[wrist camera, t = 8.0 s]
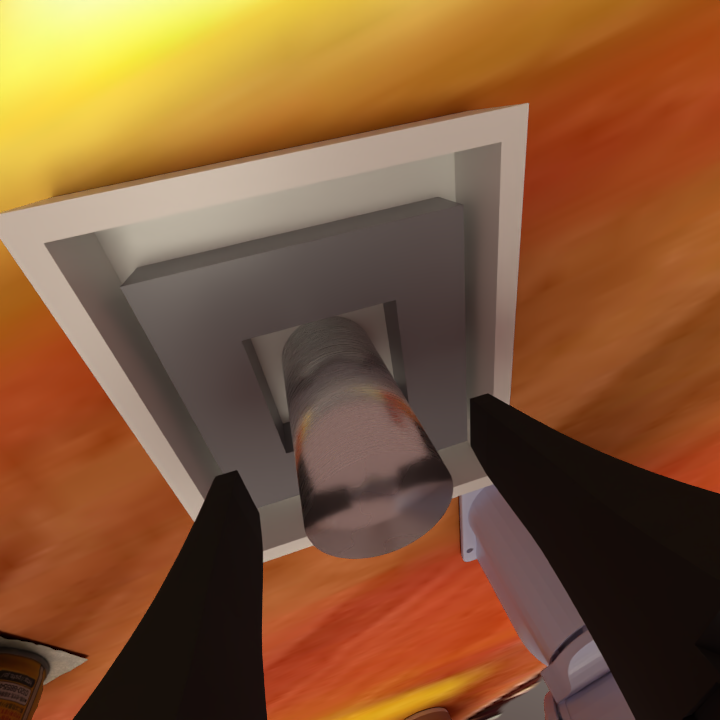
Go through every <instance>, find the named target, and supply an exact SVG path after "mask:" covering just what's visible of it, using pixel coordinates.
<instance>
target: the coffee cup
mask: <svg viewBox="0 0 720 720" xmlns="http://www.w3.org/2000/svg"><path fill="white" fill-rule="evenodd" d="M405 720H452V719H451V718H450V715H449V713H448V711H447V710H446V709H445V708H442V707H436V708H430V709H426V710H423V711H421V712H418V713H416V714H414V715H412V716H410V717H408V718H406V719H405Z"/></svg>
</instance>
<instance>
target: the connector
mask: <svg viewBox="0 0 720 720" xmlns="http://www.w3.org/2000/svg"><path fill="white" fill-rule="evenodd" d="M282 369H283V376H284V383H285V391H286V398H287V405H288V413H289V420H290V427H291V435H292V442H293V449H294V456H295V464H296V471H297V478H298V486H299V493H300V500H301V507H302V515H303V522H304V528H305V533H306V535H307V537H308V539H309V540H310V542H311V543H312V544H313V545H314V546H315V547H316V548H317V549H319V550H321V551H322V552H324V553H326V554H329V555H332V556H335V557H340V558H349V559H360V558H370V557H375V556H380V555H383V554H387V553H390V552H393V551H395V550H398V549H400V548H402V547H405V546H407V545H408V544H410V543H412V542H414V541H415V540H417V539H418V538H420V537H421V536H423V535H424V534H425V533H427V532H428V531H429V530H430V529H431V528H432V527H433V526H434V525H435V524H436V523H437V522H438V521H439V520H440V519H441V517H442V516H443V515H444V513H445V512H446V510H447V508H448V506H449V504H450V502H451V499H452V495H453V480H452V477H451V474H450V473H449V471H448V469H447V467H446V466H445V464H444V462H443V461H442V459H441V457H440V455H439V454H438V452H437V450H436V449H435V447H434V445H433V444H432V442H431V440H430V439H429V437H428V435H427V434H426V432H425V430H424V429H423V427H422V425H421V424H420V422H419V420H418V418H417V417H416V415H415V413H414V412H413V410H412V408H411V407H410V405H409V403H408V402H407V400H406V398H405V397H404V395H403V393H402V392H401V390H400V388H399V387H398V385H397V383H396V382H395V380H394V378H393V376H392V375H391V373H390V371H389V370H388V368H387V366H386V365H385V363H384V361H383V360H382V358H381V356H380V355H379V353H378V351H377V350H376V348H375V346H374V345H373V343H372V341H371V339H370V338H369V336H368V334H367V333H366V332H365V330H364V329H363V328H362V327H361V326H360V325H359V324H357V323H356V322H354V321H352V320H350V319H348V318H345V317H340V316H333V317H329V318H325V319H322V320H318V321H314V322H310V323H307V324H303V325H301V326H299V327H298V328H297V329H296V330H295V331H294V332H293V333H292V334H291V335H290V336H289V338H288V339H287V341H286V343H285V345H284V348H283V352H282Z"/></svg>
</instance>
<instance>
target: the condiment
mask: <svg viewBox="0 0 720 720" xmlns="http://www.w3.org/2000/svg"><path fill="white" fill-rule="evenodd" d="M87 660H88V659H85V658H81V657H78V656H75V655H72V654H69V653H66V652H63V651H60V650H53V649H52V648H50V647H46V646H43V645H35V644H34V643H31V642H22V641H20V640H8V639H4V638H2V637H1V636H0V720H32V717H33V714H34V712H35V710H36V709H37V707H38V703H39V700H40V698H41V694H42V691H43V685H45V684H47V683H48V682H50V681H52V680H54V679H55V678H57V677H58V676H60V675H62V674H64V673H66V672H69V671H71V670H72V669H74V668H75V667H77V666H79V665H80V664H82V663H84V662H85V661H87Z"/></svg>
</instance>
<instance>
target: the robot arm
mask: <svg viewBox="0 0 720 720" xmlns="http://www.w3.org/2000/svg"><path fill="white" fill-rule="evenodd" d="M470 446H471V448H472V450H473V452H474V453H475V455H476V457H477V459H478V461H479V462H480V464H481V466H482V468H483V469H484V471H485V473H486V474H487V476H488V477H489V479H490V480H491V482H492V483H493V485H490V486H487V487H484V488H481V489H478V490H475V491H472V492H469V493H466V494H463V495H460V496H459V504H460V530H461V556H462V558H463V560H464V561H465V562H469V561H472V560H475V559H477V560H478V561H479V563H480V565H481V567H482V569H483V571H484V573H485V574H486V576H487V578H488V580H489V582H490V584H491V586H492V587H493V589H494V591H495V593H496V595H497V597H498V599H499V600H500V602H501V604H502V606H503V608H504V610H505V612H506V613H507V615H508V617H509V619H510V621H511V623H512V625H513V626H514V628H515V630H516V632H517V634H518V636H519V637H520V639H521V640H522V642H523V643H524V645H525V646H526V648H527V649H528V650H529V651H530V652H531V653H532V654H533V655H534V656H535V657H536V658H537V659H538V660H540V661H541V662H542V663H544V664H545V665H546V666H548V667H546V668H545V669H544V670H542V671H541V675H542V677H543V679H544V681H545V683H546V684H547V686H548V688H549V690H550V691H549V692H548V693H547V694H546V695H545V699H544V711H545V720H720V494H719V493H715V492H712V491H708V490H705V489H702V488H699V487H695V486H692V485H689V484H686V483H683V482H680V481H677V480H674V479H671V478H668V477H665V476H662V475H659V474H656V473H653V472H650V471H648V470H645V469H642V468H639V467H637V466H634V465H632V464H629V463H627V462H624V461H622V460H619V459H617V458H614V457H612V456H609V455H607V454H605V453H602V452H600V451H598V450H595V449H593V448H591V447H589V446H587V445H585V444H583V443H580V442H578V441H576V440H574V439H572V438H570V437H568V436H566V435H564V434H562V433H560V432H558V431H556V430H554V429H552V428H550V427H548V426H546V425H544V424H543V423H541V422H539V421H537V420H535V419H533V418H531V417H530V416H528V415H526V414H524V413H523V412H521V411H519V410H517V409H515V408H514V407H512V406H510V405H508V404H507V403H505V402H503V401H501V400H499V399H498V398H496V397H494V396H492V395H490V394H489V393H487V394H484V395H480V396H477V397H474V398H471V399H470ZM262 592H263V542H262V531H261V522H260V513H259V511H258V510H257V508H256V506H255V504H254V502H253V500H252V498H251V496H250V494H249V492H248V490H247V488H246V486H245V484H244V482H243V480H242V478H241V476H240V474H239V473H238V471H237V470H235V471H232V472H228V473H225V474H222V475H218V476H216V477H215V478H214V480H213V482H212V484H211V487H210V489H209V491H208V493H207V496H206V498H205V500H204V502H203V505H202V507H201V509H200V511H199V513H198V516H197V518H196V520H195V522H194V524H193V526H192V528H191V530H190V532H189V535H188V537H187V539H186V541H185V543H184V545H183V547H182V549H181V551H180V553H179V555H178V557H177V559H176V560H175V562H174V564H173V566H172V568H171V570H170V572H169V573H168V575H167V577H166V579H165V581H164V583H163V584H162V586H161V588H160V590H159V592H158V593H157V595H156V597H155V599H154V600H153V602H152V604H151V605H150V607H149V609H148V610H147V612H146V614H145V615H144V617H143V619H142V620H141V622H140V623H139V625H138V627H137V628H136V630H135V631H134V633H133V634H132V636H131V638H130V639H129V641H128V642H127V644H126V645H125V647H124V648H123V650H122V651H121V653H120V654H119V656H118V657H117V658H116V660H115V661H114V663H113V664H112V666H111V667H110V669H109V670H108V672H107V673H106V675H105V676H104V678H103V679H102V680H101V682H100V683H99V685H98V686H97V687H96V689H95V690H94V692H93V693H92V694H91V696H90V697H89V699H88V700H87V701H86V703H85V704H84V705H83V707H82V708H81V709H80V711H79V712H78V713H77V714H76V716H75V717H74V718H73V720H267V712H266V701H265V687H264V673H263V659H262Z"/></svg>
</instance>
